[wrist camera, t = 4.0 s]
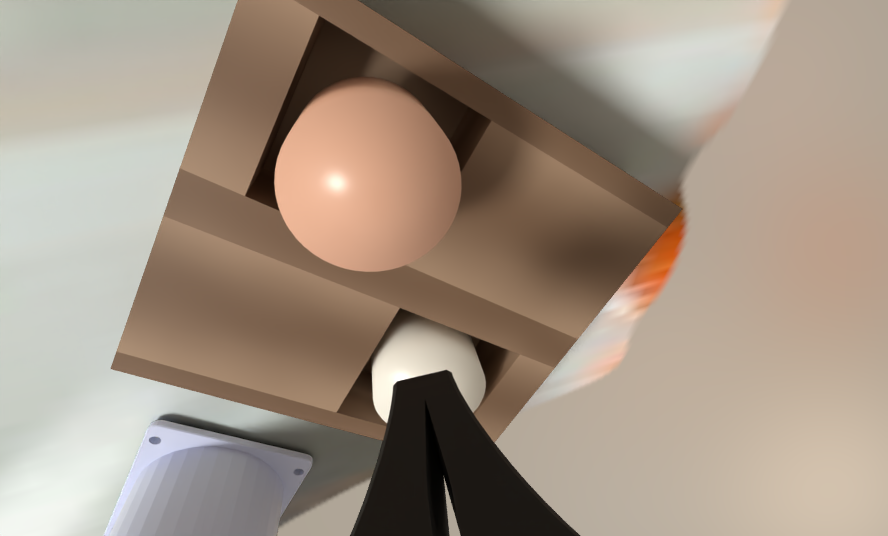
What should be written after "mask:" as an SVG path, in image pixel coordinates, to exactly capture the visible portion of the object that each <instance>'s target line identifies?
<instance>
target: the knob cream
mask: <svg viewBox="0 0 888 536" xmlns="http://www.w3.org/2000/svg"><path fill="white" fill-rule="evenodd" d="M371 361H372V387H373V402H374V406H375V409H376V411H377V413H378V414H379V416H380V417H381V418H382V419H383V420H384V421H385V422H386V423H387V422H388V417H389V412H390V407H391V401H392V393H393V385H394V384H395V383H396V382H397V381H400V380H404V379H409V378H413V377H417V376H422V375H426V374H430V373H435V372H439V371H443V370H448V371H450V372H452V375H453V377H454V380H455V382H456V384H457V386H458V388H459V390H460V392H461V394H462V396H463V397H464V399H465V401H466V402H467V404H468V406H469V407H470V409H471V411H472V412H474V411H475V410H476V409H477V408H478V406H479V405H480V403H481V401H482V399H483V397H484V393H485V388H486V380H485V375H484V373H483V370H482V367H481V364H480V361H479V359H478V356H477V353H476V350H475V347H474V344H473V342H472V339H471V336H470V335H469V334H466V333H463V332H461V331H458V330H456V329H453V328H451V327H448V326H445V325H443V324H440V323H438V322H435V321H433V320H430V319H427V318H425V317H422V316H420V315H417V314H415V313H412V312H409V311H407V310H404V309H402V308H400V309H399V310H398V312H397V314H396V315H395V317H394V318H393V320H392V322H391V323H390V325H389V327H388V328H387V330H386V332H385V333H384V335H383V337H382V338H381V340H380V342H379V343H378V345H377V346H376V348H375V350H374V351H373V353H372V355H371Z"/></svg>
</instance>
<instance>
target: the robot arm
mask: <svg viewBox="0 0 888 536" xmlns="http://www.w3.org/2000/svg"><path fill="white" fill-rule="evenodd" d="M156 437H159V438H156ZM312 462H313V459H312V457H311V456H310V455H308V454H304V453H300V452H296V451H292V450H288V449H283V448H279V447H275V446H271V445H266V444H262V443H258V442H254V441H249V440H245V439H241V438H237V437H232V436H228V435H224V434H220V433H216V432H211V431H207V430H203V429H199V428H194V427H190V426H186V425H182V424H177V423H173V422H169V421H165V420H156V421H153V422H151V423H150V425H149V427H148V429H147V431H146V433H145V435H144V438H143V440H142V443H141V445H140V448H139V450H138V453H137V455H136V458H135V460H134V462H133V465H132V467H131V470H130V472H129V475H128V477H127V480H126V482H125V484H124V487H123V489H122V492H121V494H120V497H119V499H118V502H117V504H116V506H115V509H114V511H113V514H112V516H111V519H110V521H109V524H108V526H107V528H106V531H105V533H104V536H277V533H278V526H279V520H280V517H281V516H282V514H283V513H284V511H285V509H286V508H287V506H288V504H289V503H290V501H291V500H292V498H293V496H294V495H295V493H296V491H297V490H298V488H299V487H300V485H301V483H302V482H303V480H304V478H305V477H306V475H307V474H308V472H309V470H310V469H311V467H312ZM444 478H445V481H446V485H447V489H448V492H449V496H450V499H451V503H452V506H453V510H454V513H455V516H456V520H457V524H458V527H459V531H460V535H461V536H580V535H579V534H578V533H577V532H576V531H575V530H574V529H572V528H571V527H570V526H569V525H568V524H567V523H566V522H565V521H564V520H563V519H562V518H561V517H560V516H559V515H558V514H557V513H556V512H555V511H554V510H553V509H552V508H551V507H550V506H549V505H548V504H547V503H546V502H545V501H544V500H543V499H542V498H541V497H540V496H539V495H538V494H537V493H536V491H535V490H534V489H533V488H532V487H531V486H530V485H529V484H528V483H527V482H526V481H525V479H524V478H523V477H522V476H521V475H520V474H519V473H518V472H517V470H516V469H515V468H514V467H513V466H512V465H511V463H510V462H509V461H508V459H507V458H506V457H505V456H504V455H503V453H502V452H501V451H500V450H499V448H498V447H497V446H496V444H495V443H494V442H493V440H492V439H491V438H490V436H489V435H488V434H487V432H486V431H485V429H484V428H483V427H482V425H481V424H480V422H479V421H478V420H477V418H476V417H475V415H474V414H473V412H472V411H471V409H470V407H469V406H468V404H467V402H466V401H465V399H464V397H463V396H462V394H461V392H460V390H459V388H458V386H457V384H456V382H455V380H454V377H453V375H452V372H450V371H448V370H443V371H439V372H435V373H430V374H426V375H422V376H417V377H413V378H409V379H404V380H400V381H397V382H396V383H395V384H394V385H393V393H392V401H391V407H390V412H389V417H388V422H387V426H386V431H385V434H384V438H383V442H382V445H381V449H380V453H379V456H378V460H377V463H376V467H375V470H374V473H373V475H372V478H371V481H370V484H369V487H368V490H367V494H366V496H365V499H364V502H363V505H362V507H361V510H360V512H359V515H358V518H357V520H356V523H355V525H354V528H353V530H352V532H351V535H350V536H449V527H448V516H447V506H446V495H445V486H444Z"/></svg>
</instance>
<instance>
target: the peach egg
mask: <svg viewBox="0 0 888 536" xmlns="http://www.w3.org/2000/svg"><path fill="white" fill-rule="evenodd" d="M274 185H275V194H276V199H277V203H278V207H279V210H280V212H281V215H282V217H283V219H284V221H285V223H286V225H287V226H288V228H289V230H290V231H291V232H292V234H293V235H294V236H295V238H296V239H297V240H298V241H299V242H300V243H301V244H302V245H303V246H304V247H305V248H306V249H308V250H309V251H310V252H311V253H313V254H314V255H316V256H317V257H319V258H321V259H322V260H324V261H326V262H328V263H330V264H333V265H335V266H338V267H341V268H344V269H349V270H354V271H363V272H378V271H386V270H391V269H395V268H399V267H402V266H404V265H407V264H409V263H411V262H413V261H415V260H417V259H419V258H421V257H422V256H424V255H425V254H426V253H428V252H429V251H430V250H431V249H432V248H434V247H435V246H436V245H437V244H438V243H439V242H440V240H441V239H442V238H443V237H444V236H445V234H446V233H447V231H448V230H449V228H450V226H451V224H452V223H453V221H454V219H455V216H456V213H457V210H458V207H459V203H460V198H461V187H462V186H461V172H460V167H459V162H458V159H457V156H456V153H455V151H454V149H453V147H452V145H451V143H450V141H449V139H448V138H447V136H446V135H445V133H444V132H443V130H442V129H441V128H440V127H439V125H438V124H437V123H436V121H435V120H434V119H433V117H432V116H431V115H430V113H429V112H428V111H427V109H426V108H425V107H424V106H423V104H422V103H421V102H420V101H419V100H418V99H417V98H416V97H415V96H414V95H413V94H411V93H410V92H409V91H407V90H406V89H404V88H403V87H401V86H399V85H397V84H395V83H393V82H390V81H387V80H384V79H380V78H375V77H352V78H348V79H343V80H340V81H338V82H335V83H333V84H331V85H329V86H327V87H325V88H324V89H322V90H321V91H320V92H319V93H317V94H316V95H315V96H314V97H313V98H312V99H311V100H310V101H309V102H308V104H307V105H306V107H305V108H304V109H303V111H302V112H301V114H300V116H299V117H298V119H297V121H296V122H295V124H294V126H293V127H292V129H291V130H290V132H289V134H288V135H287V137H286V139H285V141H284V143H283V145H282V147H281V149H280V152H279V155H278V158H277V162H276V168H275V180H274Z"/></svg>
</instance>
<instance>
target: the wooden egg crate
mask: <svg viewBox="0 0 888 536" xmlns="http://www.w3.org/2000/svg"><path fill="white" fill-rule="evenodd" d="M352 77H375V78H380V79H384V80H387V81H390V82H393V83H395V84H397V85H399V86H401V87H403V88H404V89H406V90H407V91H409V92H410V93H411V94H413V95H414V96H415V97H416V98H417V99H418V100H419V101H420V102H421V103H422V104H423V106H424V107H425V108H426V109H427V111H428V112H429V113H430V115H431V116H432V117H433V119H434V120H435V121H436V123H437V124H438V125H439V127H440V128H441V129H442V130H443V132H444V133H445V135H446V136H447V138H448V139H449V141H450V143H451V145H452V147H453V149H454V151H455V153H456V156H457V159H458V162H459V167H460V172H461V186H462V187H461V198H460V203H459V207H458V210H457V213H456V216H455V219H454V221H453V223H452V224H451V226H450V228H449V230H448V231H447V233H446V234H445V236H444V237H443V238H442V239H441V240H440V242H439V243H438V244H437V245H436V246H435V247H434V248H432V249H431V250H430V251H429V252H428V253H426V254H425V255H424V256H422V257H421V258H419V259H417V260H415V261H413V262H411V263H409V264H407V265H404V266H402V267H399V268H395V269H391V270H386V271H378V272H363V271H354V270H349V269H344V268H341V267H338V266H335V265H333V264H330V263H328V262H326V261H324V260H322V259H321V258H319V257H317V256H316V255H314V254H313V253H311V252H310V251H309V250H308V249H306V248H305V247H304V246H303V245H302V244H301V243H300V242H299V241H298V240H297V239H296V238H295V236H294V235H293V234H292V232H291V231H290V230H289V228H288V226H287V225H286V223H285V221H284V219H283V217H282V215H281V212H280V210H279V207H278V203H277V199H276V194H275V185H274V180H275V168H276V162H277V158H278V155H279V152H280V149H281V147H282V145H283V143H284V141H285V139H286V137H287V135H288V134H289V132H290V130H291V129H292V127H293V126H294V124H295V122H296V121H297V119H298V117H299V116H300V114H301V112H302V111H303V109H304V108H305V107H306V105H307V104H308V102H309V101H310V100H311V99H312V98H313V97H314V96H315V95H316V94H317V93H319V92H320V91H321V90H322V89H324V88H325V87H327V86H329V85H331V84H333V83H335V82H338V81H340V80H343V79H348V78H352ZM681 210H682V208H680V207H679V206H677V205H676V204H674V203H672V202H671V201H669V200H668V199H666V198H665V197H663V196H662V195H660V194H658V193H657V192H655V191H654V190H652V189H651V188H649V187H648V186H646V185H644V184H643V183H641V182H640V181H638V180H637V179H635V178H634V177H632V176H630V175H629V174H627V173H626V172H624V171H623V170H621V169H620V168H618V167H616V166H615V165H613V164H612V163H610V162H609V161H607V160H606V159H604V158H602V157H601V156H599V155H598V154H596V153H595V152H593V151H592V150H590V149H588V148H587V147H585V146H584V145H582V144H581V143H579V142H577V141H576V140H574V139H573V138H571V137H570V136H568V135H567V134H565V133H563V132H562V131H560V130H559V129H557V128H556V127H554V126H553V125H551V124H549V123H548V122H546V121H545V120H543V119H542V118H540V117H539V116H537V115H535V114H534V113H532V112H531V111H529V110H528V109H526V108H525V107H523V106H521V105H520V104H518V103H517V102H515V101H514V100H512V99H511V98H509V97H507V96H506V95H504V94H503V93H501V92H500V91H498V90H497V89H495V88H493V87H492V86H490V85H489V84H487V83H486V82H484V81H483V80H481V79H479V78H478V77H476V76H475V75H473V74H472V73H470V72H469V71H467V70H465V69H464V68H462V67H461V66H459V65H458V64H456V63H455V62H453V61H451V60H450V59H448V58H447V57H445V56H444V55H442V54H441V53H439V52H437V51H436V50H434V49H433V48H431V47H430V46H428V45H427V44H425V43H423V42H422V41H420V40H419V39H417V38H416V37H414V36H413V35H411V34H409V33H408V32H406V31H405V30H403V29H402V28H400V27H399V26H397V25H395V24H394V23H392V22H391V21H389V20H388V19H386V18H385V17H383V16H381V15H380V14H378V13H377V12H375V11H374V10H372V9H371V8H369V7H367V6H366V5H364V4H363V3H361V2H360V1H358V0H238V2H237V4H236V7H235V10H234V13H233V16H232V19H231V22H230V25H229V28H228V30H227V33H226V36H225V39H224V42H223V45H222V48H221V51H220V54H219V56H218V59H217V62H216V65H215V68H214V71H213V74H212V77H211V80H210V83H209V85H208V88H207V91H206V94H205V97H204V100H203V103H202V106H201V109H200V111H199V114H198V117H197V120H196V123H195V126H194V129H193V132H192V135H191V138H190V140H189V143H188V146H187V149H186V152H185V155H184V158H183V161H182V164H181V166H180V169H179V172H178V175H177V178H176V181H175V184H174V187H173V190H172V193H171V195H170V198H169V201H168V204H167V207H166V210H165V213H164V216H163V219H162V221H161V224H160V227H159V230H158V233H157V236H156V239H155V242H154V245H153V248H152V250H151V253H150V256H149V259H148V262H147V265H146V268H145V271H144V274H143V276H142V279H141V282H140V285H139V288H138V291H137V294H136V297H135V300H134V303H133V305H132V308H131V311H130V314H129V317H128V320H127V323H126V326H125V329H124V331H123V334H122V337H121V340H120V343H119V346H118V349H117V352H116V355H115V358H114V360H113V363H112V366H111V369H113V370H117V371H120V372H124V373H128V374H132V375H136V376H139V377H143V378H147V379H151V380H155V381H158V382H162V383H166V384H170V385H173V386H177V387H181V388H185V389H189V390H192V391H196V392H200V393H204V394H208V395H211V396H215V397H219V398H223V399H226V400H230V401H234V402H238V403H242V404H245V405H249V406H253V407H257V408H261V409H264V410H268V411H272V412H276V413H280V414H283V415H287V416H291V417H295V418H298V419H302V420H306V421H310V422H314V423H317V424H321V425H325V426H329V427H333V428H336V429H340V430H344V431H348V432H352V433H355V434H359V435H363V436H367V437H370V438H374V439H378V440H382V441H383V438H384V434H385V431H386V426H387V423H386V422H385V421H384V420H383V419H382V418H381V417H380V416H379V414H378V413H377V411H376V409H375V406H374V402H373V387H372V361H371V355H372V353H373V351H374V350H375V348H376V346H377V345H378V343H379V342H380V340H381V338H382V337H383V335H384V333H385V332H386V330H387V328H388V327H389V325H390V323H391V322H392V320H393V318H394V317H395V315H396V314H397V312H398V310H399V309H400V308H402V309H404V310H407V311H409V312H412V313H415V314H417V315H420V316H422V317H425V318H427V319H430V320H433V321H435V322H438V323H440V324H443V325H445V326H448V327H451V328H453V329H456V330H458V331H461V332H463V333H466V334H469V335H470V336H471V339H472V342H473V344H474V347H475V350H476V353H477V356H478V359H479V361H480V364H481V367H482V370H483V373H484V375H485V380H486V388H485V393H484V397H483V399H482V401H481V403H480V405H479V406H478V408H477V409H476V410H475V411H474V412H473V414H474V415H475V417H476V418H477V420H478V421H479V422H480V424H481V425H482V427H483V428H484V429H485V431H486V432H487V434H488V435H489V436H490V438H491V439H492V440H493V442H495V441H496V440H497V439H498V437H499V436H500V435H501V434H502V433H503V431H504V430H505V429H506V427H507V426H508V425H509V424H510V423H511V421H512V420H513V419H514V418H515V416H516V415H517V414H518V413H519V411H520V410H521V409H522V408H523V406H524V405H525V404H526V403H527V401H528V400H529V399H530V398H531V397H532V395H533V394H534V393H535V392H536V390H537V389H538V388H539V387H540V385H541V384H542V383H543V382H544V380H545V379H546V378H547V377H548V375H549V374H550V373H551V372H552V370H553V369H554V368H555V367H556V366H557V364H558V363H559V362H560V361H561V359H562V358H563V357H564V356H565V354H566V353H567V352H568V351H569V349H570V348H571V347H572V346H573V344H574V343H575V342H576V341H577V339H578V338H579V337H580V336H581V334H582V333H583V332H584V331H585V330H586V328H587V327H588V326H589V325H590V323H591V322H592V321H593V320H594V318H595V317H596V316H597V315H598V313H599V312H600V311H601V310H602V308H603V307H604V306H605V305H606V303H607V302H608V301H609V300H610V298H611V297H612V296H613V295H614V294H615V292H616V291H617V290H618V289H619V287H620V286H621V285H622V284H623V282H624V281H625V280H626V279H627V277H628V276H629V275H630V274H631V272H632V271H633V270H634V269H635V267H636V266H637V265H638V264H639V262H640V261H641V260H642V259H643V258H644V256H645V255H646V254H647V253H648V251H649V250H650V249H651V248H652V246H653V245H654V244H655V243H656V241H657V240H658V239H659V238H660V236H661V235H662V234H663V233H664V231H665V230H666V229H667V228H668V226H669V225H670V224H671V223H672V222H673V220H674V219H675V218H676V217H677V215H678V214H679V213H680V212H681Z"/></svg>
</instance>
